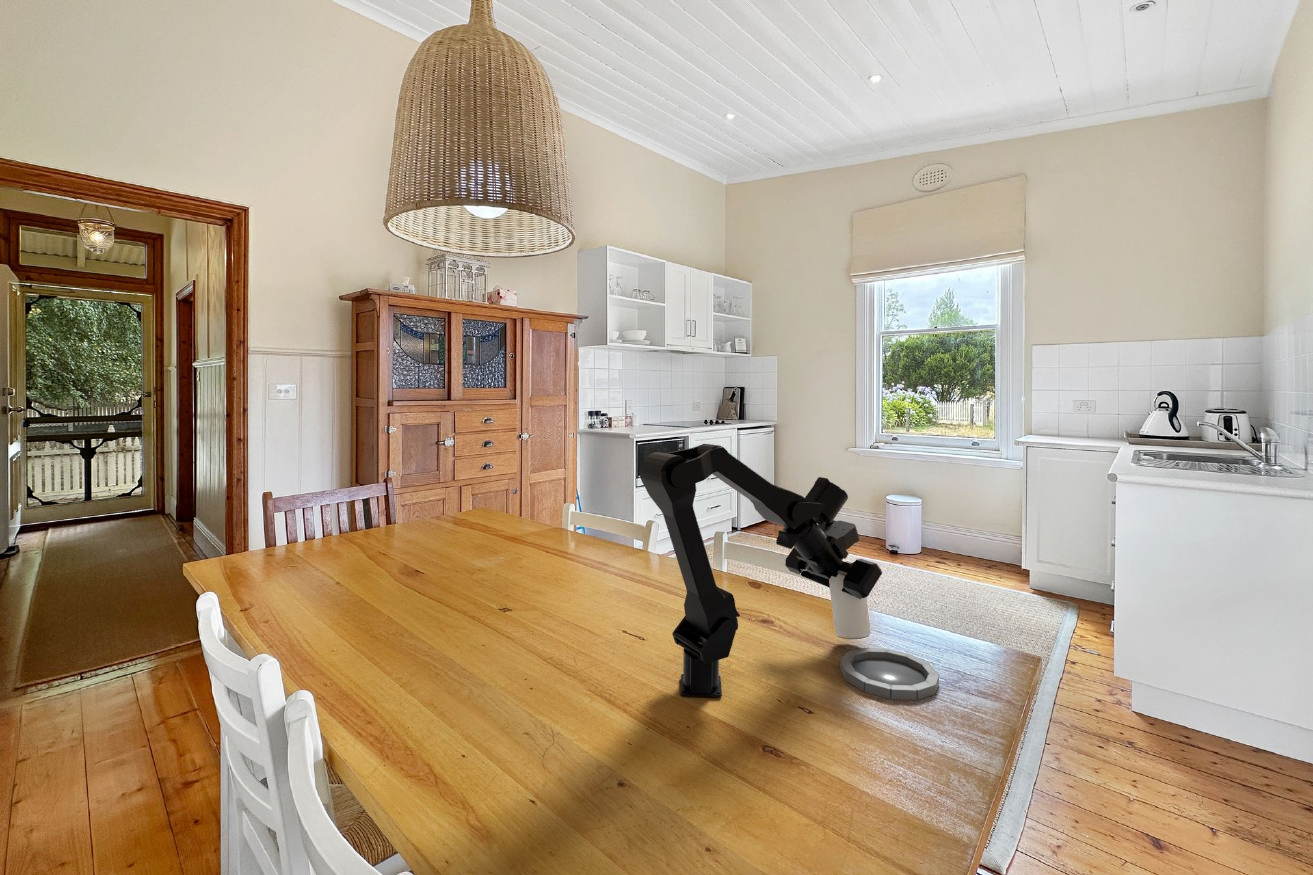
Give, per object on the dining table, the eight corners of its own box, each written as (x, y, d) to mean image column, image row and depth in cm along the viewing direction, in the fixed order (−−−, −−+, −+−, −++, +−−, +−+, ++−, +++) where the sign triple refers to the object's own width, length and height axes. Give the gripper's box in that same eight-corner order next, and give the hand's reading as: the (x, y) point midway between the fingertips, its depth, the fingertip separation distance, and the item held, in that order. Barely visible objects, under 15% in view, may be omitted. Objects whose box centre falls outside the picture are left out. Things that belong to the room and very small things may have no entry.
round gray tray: (953, 701, 93) (953, 691, 93) (854, 697, 94) (855, 688, 94) (917, 657, 108) (917, 649, 108) (832, 655, 109) (832, 646, 108)
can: (843, 628, 117) (836, 566, 117) (876, 631, 113) (868, 567, 113) (829, 637, 112) (822, 573, 112) (863, 641, 108) (855, 574, 108)
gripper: (877, 518, 102) (915, 572, 108) (798, 500, 118) (834, 548, 124) (843, 570, 98) (884, 623, 105) (766, 544, 114) (806, 592, 121)
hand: (850, 593), depth 114 cm, fingers closed on can, 6 cm apart
